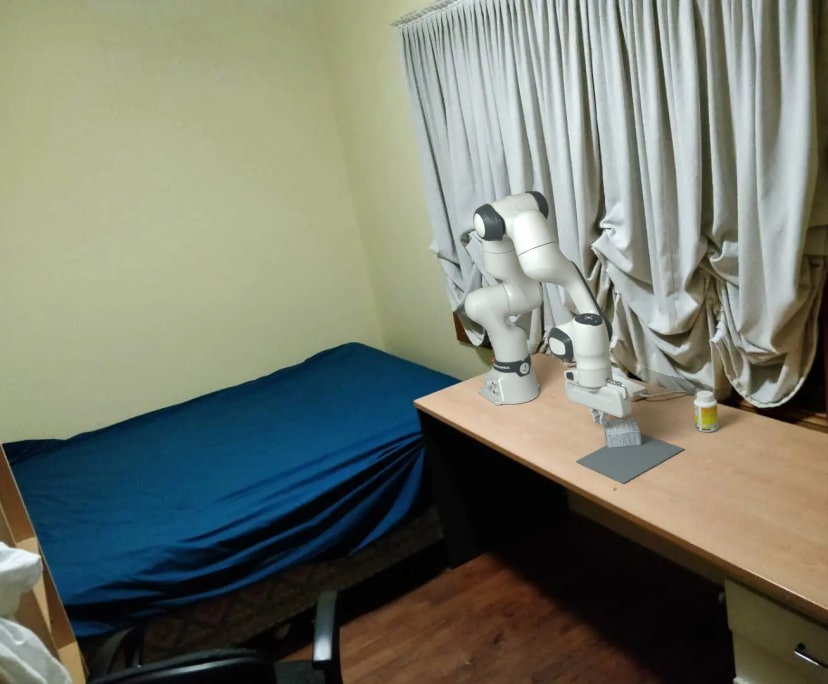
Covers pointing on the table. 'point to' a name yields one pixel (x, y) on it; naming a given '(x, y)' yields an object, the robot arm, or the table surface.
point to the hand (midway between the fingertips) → (600, 423)
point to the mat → (630, 458)
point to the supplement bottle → (706, 412)
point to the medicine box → (622, 433)
